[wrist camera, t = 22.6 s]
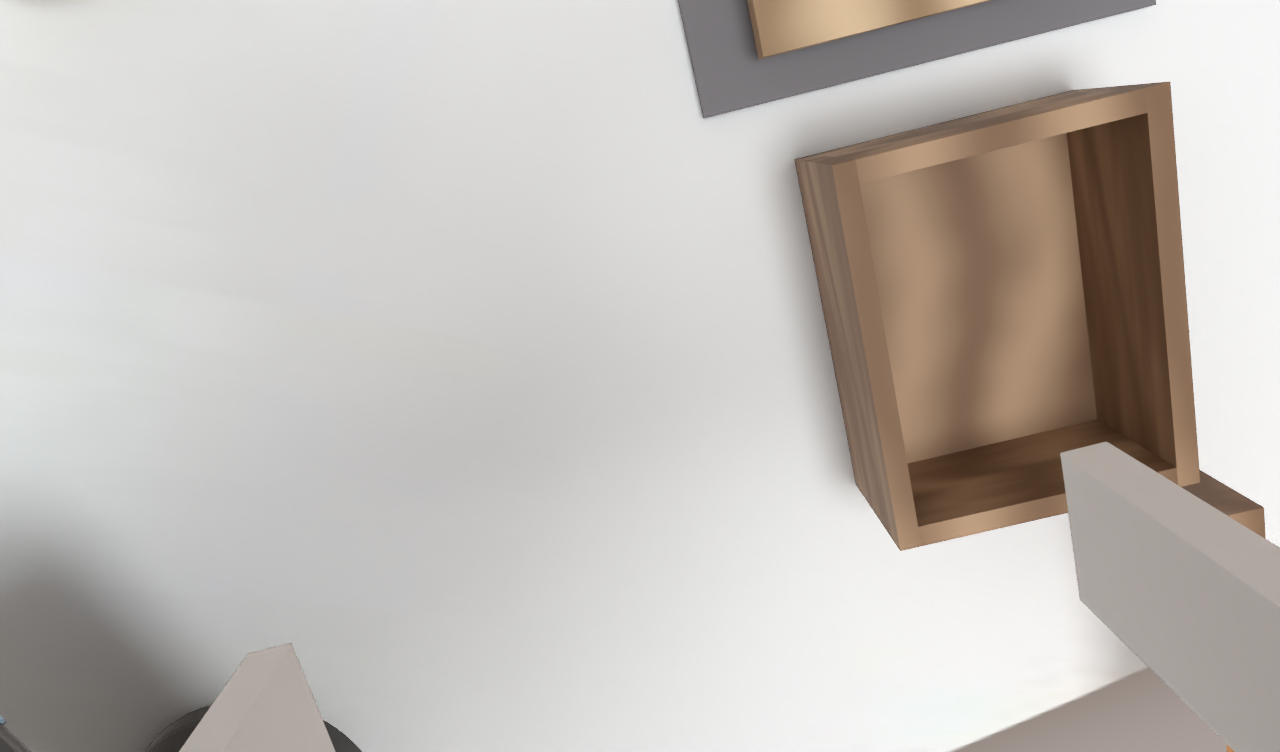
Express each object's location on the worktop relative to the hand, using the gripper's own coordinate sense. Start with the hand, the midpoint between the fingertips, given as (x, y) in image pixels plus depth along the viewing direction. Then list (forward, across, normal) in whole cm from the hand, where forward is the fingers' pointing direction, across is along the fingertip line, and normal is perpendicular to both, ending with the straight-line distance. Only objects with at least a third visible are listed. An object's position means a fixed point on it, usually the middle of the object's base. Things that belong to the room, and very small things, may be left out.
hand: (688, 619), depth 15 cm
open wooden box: (+32, +16, -5) cm, 36 cm away
